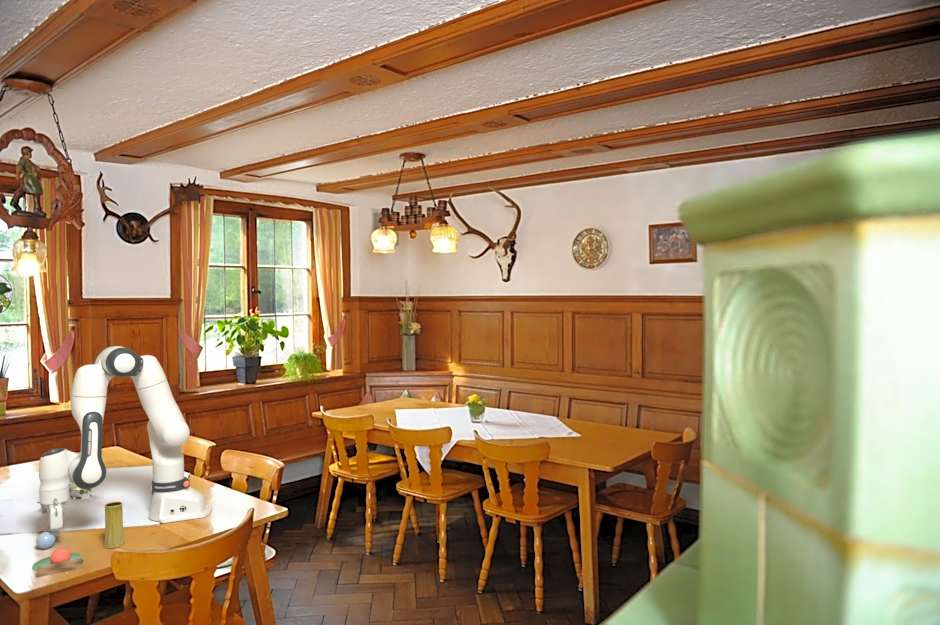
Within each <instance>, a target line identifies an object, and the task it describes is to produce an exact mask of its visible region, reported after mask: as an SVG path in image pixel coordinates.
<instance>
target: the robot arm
mask: <svg viewBox="0 0 940 625" xmlns="http://www.w3.org/2000/svg"><path fill="white" fill-rule="evenodd" d="M114 377H118V378H125V377H130V378H131V379H132V382H133V384H134V386H135V391H136V393H137V396H138V398H139V401H140V405H141V407H142V409H143V410H144V411H145V414H146V415H147V417H148V419H149V420H148V421H147V424H146V429H147V433H148V439H149V440H148V441H149V448H150V452H151V453H150V454H151V459H152V480H151V490H150V491H151V495H152V498H151V499H152V500H151V506H150V511H149V515H148V519H149V520H151V521H153V522H154V521H155V522H158V523H160V524H164V523H173V522H180V521H188V520H197V519H202V518H203V519H204V518H205V517H207V516H209V515H210V514H211V513H212V511H213V507H212V505H211V504H209V503H208V504H207V503H206V499H205V496H204V494H203V493H202V492H200V491H199V490H197V489H195V488H194V487H192V486H191V478H190V477H187V476H185V459H184V458H185V457H184V454H183V450H182V445H183V444H185V443H186V442H187V441H188V439H189V436H190V431H191V430H190V428H189V425H188V423H187V422H186V420H185V418H184V415H183V413H182V412H181V410H180V407H179V405H178V404H177V402H176V400H175V398H174V395H173V393H172V390H171V387H170V384H169V382H168V379H167V376H166V374H165V371H164V369H163V367H162V365H161V364H160V362H159V360H158V359H157V357H156V356H154V355H150V354H146V355H139V354H138V353H136V352H135V351H134V350H132V349H131V348H127V347H124V346H119V345H115V346H114V345H111V346H110V345H109V346H107V347H105V348H103V349H101V351H99V353H98V354H97V355H96V357H95V358H94V359H93V361H92V363H91V364H85V365H82V366H80V367H79V368H77V370H76V372H75V374H74V378H73V383H72V385H71V386H72V387H71V394H70V408H71V409H70V410H71V415H72V417H73V419H74V420H75V421H76V423H77V425H78V427H79V431H80V435H81V436H80V437H81V438H80V453H78V452H74V451H71V450H69V449H67V448H65V447H59V448H58V447H57V448H52V449H50V450H47V451H46V452H44V453H43V454H42V455H41V457H40V458H39V465H38V479H39V482H40V484H39V487H38V488H39V490H38V491H39V492H38V493H39V495H38V497H39V498H38V499H39V502H40V503H39V505H40V504H43V505H44V507H45V508H47V517H48V523H49V528H50V532H52V533H53V534H54V535H55V537H59V535H60V534H59V533H60V530H62V529H63V528H64V518H63V517H64V514H63V506H65V505H66V502H67V501H69V500H70V499H71V498H70V483H74V484H75V485H76V487H78V488H80V489H83V490H91V489H94V488H97V487H98V486H99V485H101V484H102V483H103V482H104V480H105V479H106V477H107V468H106V465H105V463H104V460H103V457H102V454H103V453H102V452H103V449H102V448H103V425H104V418H105V417H104V416H105V411H106V405H107V398H108V397H107V396H108V385H109V383H110V381H111V380H112V379H113V378H114Z"/></svg>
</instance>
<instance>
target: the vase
mask: <svg viewBox="0 0 940 625" xmlns="http://www.w3.org/2000/svg"><path fill="white" fill-rule="evenodd" d="M123 516H124V515H123V502H122V501H112V502H107V503H106V504H104V542H103V543H104V544H103V548H105V549H116V548H120V547H123V546H124V545H125V537H124V536H125V535H124V534H125V531H124V518H123Z"/></svg>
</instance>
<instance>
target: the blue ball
mask: <svg viewBox="0 0 940 625" xmlns="http://www.w3.org/2000/svg"><path fill="white" fill-rule="evenodd" d="M55 542H56V536H55V535H54V534H53V533H52V531H43V532H41V533H40V534H38V536H37V537H36V540H35V545H36V546H37V547H38V549H41V550H45V549H50V548H51V547H52V546H54V544H55Z"/></svg>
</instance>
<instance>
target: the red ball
mask: <svg viewBox="0 0 940 625" xmlns="http://www.w3.org/2000/svg"><path fill="white" fill-rule="evenodd" d="M70 553H71V552H70V550H68V549H67V548H57V549H55V550H54V551H53V552H52V553H51V554H50V556H51V557H50V556H49V557H50V562H51V564H54V563H59V562H64V561H68V560H70V558H71V554H70Z"/></svg>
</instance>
